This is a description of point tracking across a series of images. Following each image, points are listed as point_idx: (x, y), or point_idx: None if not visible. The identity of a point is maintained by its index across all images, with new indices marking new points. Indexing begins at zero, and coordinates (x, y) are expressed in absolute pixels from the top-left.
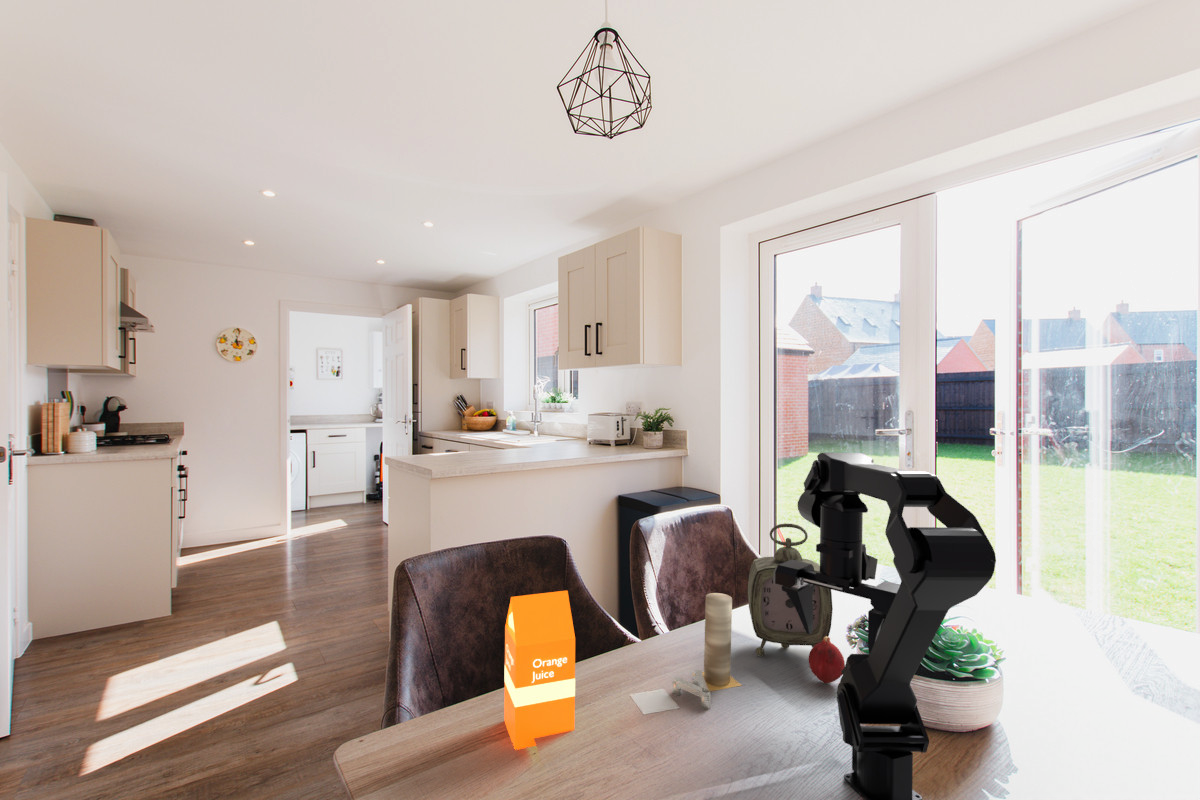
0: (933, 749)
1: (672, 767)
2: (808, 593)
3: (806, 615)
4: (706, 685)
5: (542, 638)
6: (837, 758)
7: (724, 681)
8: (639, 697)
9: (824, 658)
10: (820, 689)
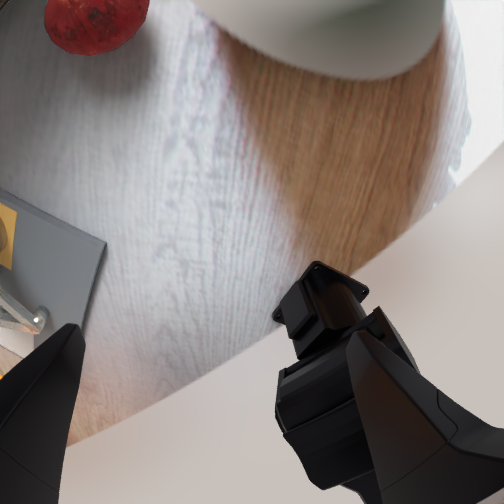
0: (380, 137)
1: (116, 393)
2: (4, 490)
3: (61, 426)
4: (19, 314)
5: None
6: (247, 276)
7: (2, 242)
8: (1, 339)
9: (91, 39)
10: (116, 54)
